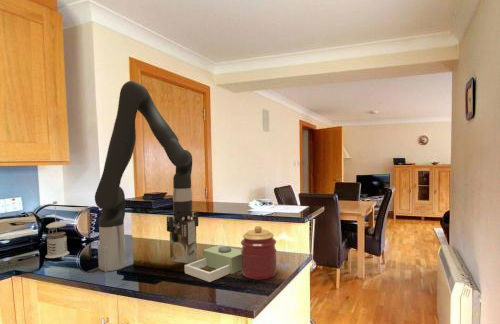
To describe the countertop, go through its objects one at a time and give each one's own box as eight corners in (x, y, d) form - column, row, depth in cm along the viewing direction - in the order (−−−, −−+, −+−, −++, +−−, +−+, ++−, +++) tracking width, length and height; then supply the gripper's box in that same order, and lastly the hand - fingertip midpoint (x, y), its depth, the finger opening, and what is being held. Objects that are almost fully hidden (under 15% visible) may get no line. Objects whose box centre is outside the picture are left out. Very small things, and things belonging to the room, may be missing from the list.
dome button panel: (211, 282, 109) (210, 262, 109) (183, 272, 120) (182, 254, 120) (248, 266, 123) (247, 249, 123) (219, 258, 134) (219, 242, 134)
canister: (279, 268, 121) (278, 222, 121) (274, 281, 109) (272, 230, 108) (246, 266, 124) (245, 221, 124) (237, 279, 112) (236, 229, 111)
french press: (50, 259, 141) (47, 203, 140) (39, 255, 148) (37, 201, 147) (73, 253, 149) (70, 200, 148) (62, 249, 156) (60, 198, 155)
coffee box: (197, 258, 129) (197, 219, 128) (188, 263, 123) (188, 222, 123) (178, 256, 132) (178, 217, 132) (169, 261, 126) (168, 220, 126)
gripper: (191, 196, 135) (191, 234, 135) (161, 200, 124) (162, 242, 125) (202, 198, 130) (203, 237, 130) (173, 202, 119) (174, 245, 120)
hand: (183, 239), depth 127 cm, fingers closed on coffee box, 7 cm apart
